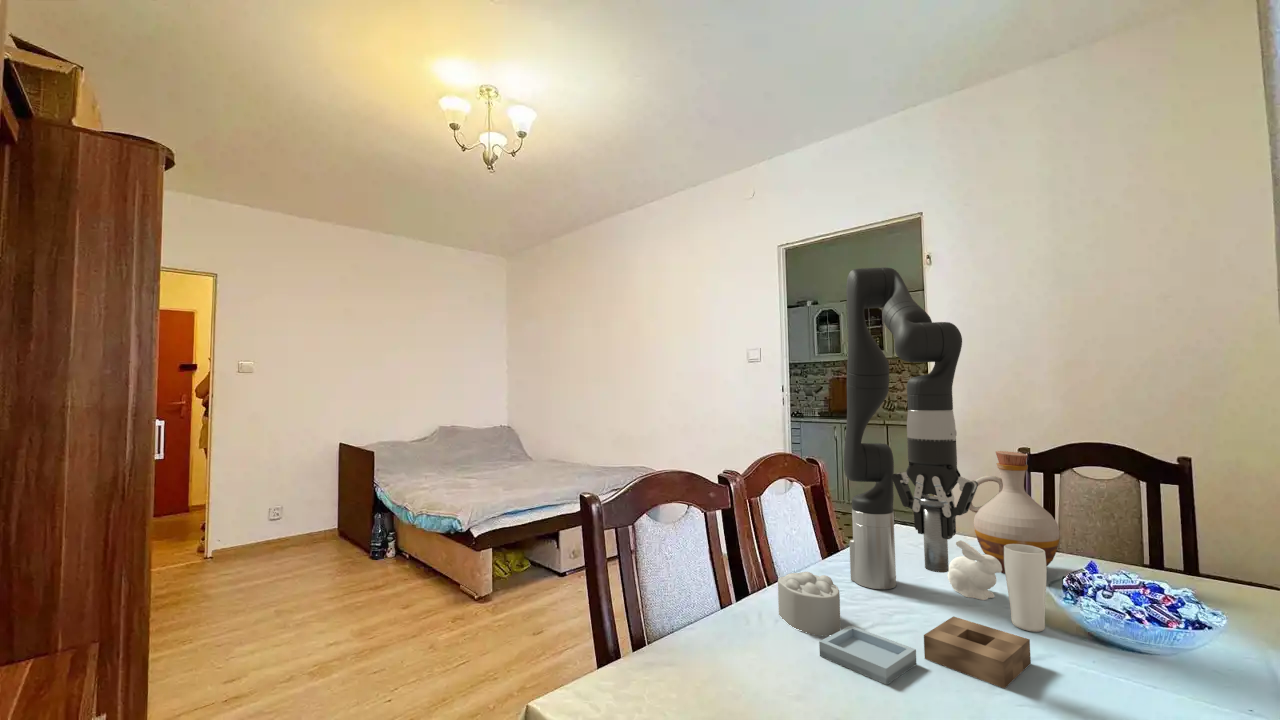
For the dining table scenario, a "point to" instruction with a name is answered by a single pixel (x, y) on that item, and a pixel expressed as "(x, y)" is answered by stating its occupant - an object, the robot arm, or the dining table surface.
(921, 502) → the pin
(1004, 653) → the socket block
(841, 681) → the dining table surface
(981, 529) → the jug
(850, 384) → the robot arm
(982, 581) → the rabbit
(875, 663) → the tray
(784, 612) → the lumpy-topped squat cylinder
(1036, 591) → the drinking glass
